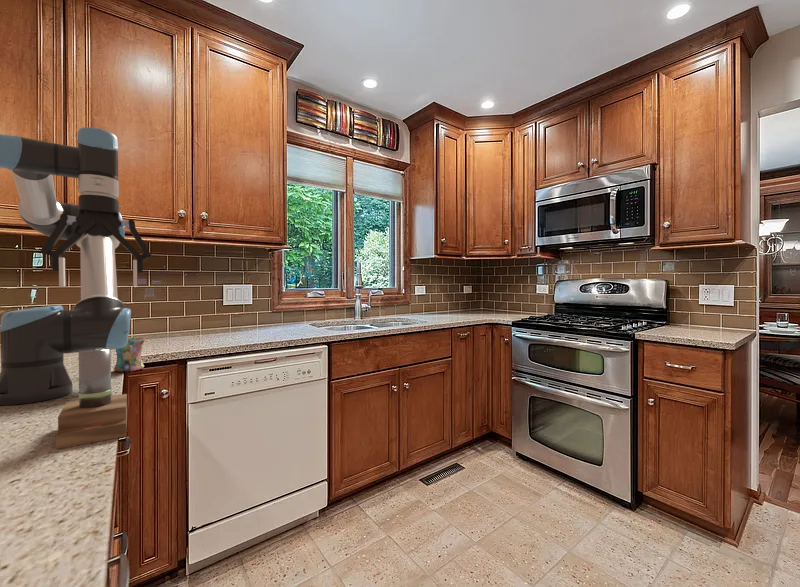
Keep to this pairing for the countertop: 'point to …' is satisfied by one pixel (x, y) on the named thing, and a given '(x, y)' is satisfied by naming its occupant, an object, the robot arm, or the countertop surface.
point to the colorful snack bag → (130, 356)
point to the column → (94, 377)
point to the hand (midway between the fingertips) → (100, 286)
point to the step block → (91, 422)
